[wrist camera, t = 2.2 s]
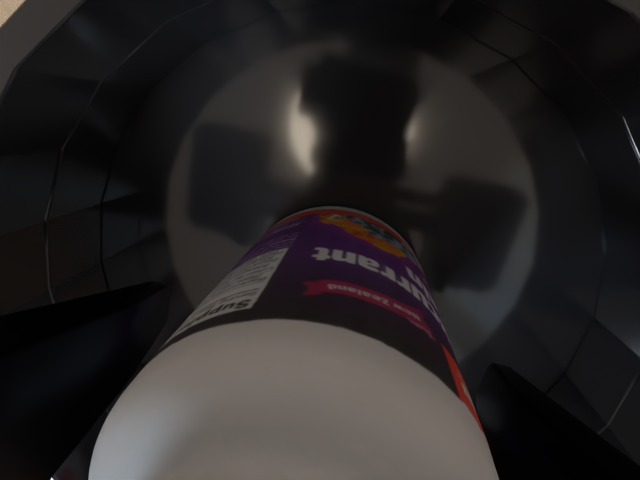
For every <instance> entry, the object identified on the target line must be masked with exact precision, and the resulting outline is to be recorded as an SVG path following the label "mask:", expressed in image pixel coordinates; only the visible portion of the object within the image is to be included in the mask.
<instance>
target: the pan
mask: <svg viewBox="0 0 640 480" xmlns="http://www.w3.org/2000/svg"><path fill="white" fill-rule="evenodd" d="M323 206H337V207H346V208H351V209H356V210H359V211H362V212H365V213H368V214H370V215H372V216H374V217H376V218H378V219H380V220H381V221H383V222H384V223H386V224H387V225H389V226H390V227H391V228H393V229H394V230H395V231H396V232H397V233H399V234H400V236H401V237H402V238H403V239H404V240H405V241H406V242H407V243H408V245H409V246H410V248H411V249H412V250H413V252H414V254H415V256H416V258H417V259H418V261H419V263H420V265H421V267H422V270H423V272H424V274H425V277H426V280H427V282H428V285H429V288H430V290H431V293H432V296H433V298H434V301H435V304H436V306H437V309H438V312H439V314H440V317H441V320H442V323H443V325H444V328H445V331H446V333H447V336H448V338H449V341H450V343H451V346H452V349H453V352H454V355H455V357H456V360H457V363H458V365H459V368H460V371H461V373H462V376H463V379H464V382H465V384H466V387H467V389H468V392H469V394H470V397H471V400H472V402H473V405H474V408H475V411H476V413H477V416H478V410H477V404H476V394H477V390H478V387H479V385H480V383H481V380H482V378H483V376H484V373H485V371H486V369H487V367H488V366H489V365H490V364H492V363H496V364H500V365H504V366H508V367H510V368H512V369H513V370H514V371H516V372H517V373H518V374H520V375H521V376H522V377H524V378H525V379H526V380H528V381H529V382H530V383H532V384H533V385H534V386H535V387H537V388H538V389H539V390H541V391H542V392H543V393H545V394H546V395H547V396H549V397H550V398H551V399H553V400H554V401H555V402H556V403H558V404H559V405H560V406H562V407H563V408H564V409H566V410H567V411H568V412H570V413H571V414H572V415H574V416H575V417H576V418H577V419H579V420H580V421H581V422H583V423H584V424H585V425H587V426H588V427H589V428H591V429H592V430H593V431H595V432H596V433H597V434H598V435H600V436H601V437H602V438H604V439H605V440H606V441H608V442H609V443H610V444H612V445H613V446H614V447H616V448H617V449H618V450H620V451H621V452H622V453H623V454H625V455H626V456H627V457H629V458H630V459H631V460H633V461H634V462H635V463H637V464H638V465H639V466H640V0H25V1H24V2H23V3H22V4H21V5H20V6H19V7H18V8H17V10H16V11H15V12H14V13H13V14H12V15H11V16H10V17H9V18H8V19H7V20H6V21H5V23H4V24H3V25H2V26H1V27H0V316H2V315H6V314H10V313H15V312H19V311H23V310H28V309H32V308H37V307H41V306H45V305H50V304H54V303H59V302H63V301H67V300H72V299H76V298H80V297H85V296H89V295H94V294H98V293H102V292H107V291H111V290H116V289H120V288H124V287H129V286H133V285H137V284H142V283H146V282H151V281H154V282H159V283H163V284H166V285H168V286H169V287H170V302H169V315H168V319H167V322H166V324H165V326H164V328H163V329H162V331H161V332H160V334H159V335H158V337H157V339H156V340H155V342H154V343H153V345H152V347H151V348H150V350H149V351H148V353H147V354H146V356H145V358H144V359H143V361H142V362H141V364H140V365H139V367H138V369H137V370H136V371H135V373H134V374H133V376H132V377H131V379H130V380H129V381H128V383H127V384H126V385H125V386H124V388H123V389H122V390H121V391H120V393H119V394H118V395H117V396H116V398H115V399H114V400H113V401H112V403H111V404H110V405H109V406H108V408H107V409H106V410H105V411H104V413H103V414H102V415H101V416H100V418H99V419H98V420H97V421H96V423H95V424H94V425H93V426H92V428H91V429H90V430H89V431H88V433H87V434H86V435H85V436H84V438H83V439H82V440H81V441H80V443H79V444H78V445H77V447H76V448H75V449H74V450H73V452H72V453H71V454H70V455H69V457H68V458H67V459H66V460H65V462H64V463H63V464H62V465H61V467H60V468H59V469H58V470H57V472H56V473H55V474H54V475H53V477H52V478H51V479H50V480H88V477H89V469H90V464H91V459H92V454H93V450H94V446H95V444H96V441H97V438H98V436H99V433H100V431H101V428H102V426H103V424H104V422H105V420H106V418H107V416H108V415H109V413H110V411H111V410H112V408H113V407H114V405H115V403H116V402H117V400H118V399H119V398H120V396H121V395H122V393H123V392H124V391H125V390H126V388H127V387H128V386H129V385H130V383H131V382H132V381H133V380H134V379H135V377H136V376H137V375H138V374H139V373H140V371H141V370H142V369H143V368H144V367H145V365H146V364H147V363H148V362H149V361H150V360H151V358H152V357H153V356H154V355H155V354H156V353H157V351H158V350H159V349H160V348H161V347H162V346H163V344H164V343H165V342H166V341H167V340H168V339H169V338H170V337H171V336H172V335H173V334H174V333H175V332H176V331H177V330H178V329H179V327H180V326H181V325H182V324H183V323H184V322H185V320H186V319H187V318H188V317H189V316H190V315H191V314H192V313H193V311H194V310H195V309H196V308H197V307H198V306H199V305H200V304H201V303H202V301H203V300H204V299H205V298H206V297H207V296H208V295H209V293H210V292H211V291H212V290H213V289H214V288H215V287H216V286H217V285H218V284H219V283H220V281H221V280H222V279H223V278H224V277H225V276H226V275H227V274H228V273H229V272H230V271H231V269H232V268H233V267H234V266H235V265H236V264H237V263H238V262H239V261H240V260H241V258H242V257H243V256H244V255H245V254H246V253H247V252H248V251H249V250H250V249H251V247H252V246H253V245H254V244H255V243H256V242H257V241H258V240H259V239H260V238H261V237H262V236H263V235H264V234H265V233H266V232H267V231H268V230H269V229H270V228H271V227H273V226H274V225H275V224H277V223H278V222H279V221H281V220H282V219H284V218H286V217H288V216H290V215H292V214H294V213H297V212H300V211H303V210H306V209H310V208H315V207H323ZM478 418H479V416H478Z"/></svg>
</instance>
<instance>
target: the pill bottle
mask: <svg viewBox="0 0 640 480" xmlns="http://www.w3.org/2000/svg"><path fill="white" fill-rule="evenodd" d="M88 480H499V477H498V474H497V471H496V468H495V465H494V462H493V458H492V455H491V452H490V448H489V445H488V442H487V439H486V437H485V434H484V431H483V429H482V426H481V423H480V421H479V418H478V416H477V413H476V411H475V408H474V405H473V402H472V400H471V397H470V394H469V392H468V389H467V387H466V384H465V382H464V379H463V376H462V373H461V371H460V368H459V365H458V363H457V360H456V357H455V355H454V352H453V349H452V346H451V343H450V341H449V338H448V336H447V333H446V331H445V328H444V325H443V323H442V320H441V317H440V314H439V312H438V309H437V306H436V304H435V301H434V298H433V296H432V293H431V290H430V288H429V285H428V282H427V280H426V277H425V274H424V272H423V270H422V267H421V265H420V263H419V261H418V259H417V258H416V256H415V254H414V252H413V250H412V249H411V248H410V246H409V245H408V243H407V242H406V241H405V240H404V239H403V238H402V237H401V236H400V234H399V233H397V232H396V231H395V230H394V229H393V228H391V227H390V226H389V225H387V224H386V223H384V222H383V221H381V220H380V219H378V218H376V217H374V216H372V215H370V214H368V213H365V212H362V211H359V210H356V209H351V208H346V207H337V206H323V207H315V208H310V209H306V210H303V211H300V212H297V213H294V214H292V215H290V216H288V217H286V218H284V219H282V220H281V221H279V222H278V223H277V224H275V225H274V226H273V227H271V228H270V229H269V230H268V231H267V232H266V233H265V234H264V235H263V236H262V237H261V238H260V239H259V240H258V241H257V242H256V243H255V244H254V245H253V246H252V247H251V249H250V250H249V251H248V252H247V253H246V254H245V255H244V256H243V257H242V258H241V260H240V261H239V262H238V263H237V264H236V265H235V266H234V267H233V268H232V269H231V271H230V272H229V273H228V274H227V275H226V276H225V277H224V278H223V279H222V280H221V281H220V283H219V284H218V285H217V286H216V287H215V288H214V289H213V290H212V291H211V292H210V293H209V295H208V296H207V297H206V298H205V299H204V300H203V301H202V303H201V304H200V305H199V306H198V307H197V308H196V309H195V310H194V311H193V313H192V314H191V315H190V316H189V317H188V318H187V319H186V320H185V322H184V323H183V324H182V325H181V326H180V327H179V329H178V330H177V331H176V332H175V333H174V334H173V335H172V336H171V337H170V338H169V339H168V340H167V341H166V342H165V343H164V344H163V346H162V347H161V348H160V349H159V350H158V351H157V353H156V354H155V355H154V356H153V357H152V358H151V360H150V361H149V362H148V363H147V364H146V365H145V367H144V368H143V369H142V370H141V371H140V373H139V374H138V375H137V376H136V377H135V379H134V380H133V381H132V382H131V383H130V385H129V386H128V387H127V388H126V390H125V391H124V392H123V393H122V395H121V396H120V398H119V399H118V400H117V402H116V403H115V405H114V407H113V408H112V410H111V411H110V413H109V415H108V416H107V418H106V420H105V422H104V424H103V426H102V428H101V431H100V433H99V436H98V438H97V441H96V444H95V446H94V450H93V454H92V459H91V464H90V469H89V477H88Z"/></svg>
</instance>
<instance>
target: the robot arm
mask: <svg viewBox="0 0 640 480" xmlns="http://www.w3.org/2000/svg"><path fill="white" fill-rule="evenodd" d="M169 302H170V287H169V286H168V285H166V284H163V283H159V282H154V281H151V282H146V283H142V284H137V285H133V286H129V287H124V288H120V289H116V290H111V291H107V292H102V293H98V294H94V295H89V296H85V297H80V298H76V299H72V300H67V301H63V302H59V303H54V304H50V305H45V306H41V307H37V308H32V309H28V310H23V311H19V312H15V313H10V314H6V315H2V316H0V480H50V479H51V478H52V477H53V475H54V474H55V473H56V472H57V470H58V469H59V468H60V467H61V465H62V464H63V463H64V462H65V460H66V459H67V458H68V457H69V455H70V454H71V453H72V452H73V450H74V449H75V448H76V447H77V445H78V444H79V443H80V441H81V440H82V439H83V438H84V436H85V435H86V434H87V433H88V431H89V430H90V429H91V428H92V426H93V425H94V424H95V423H96V421H97V420H98V419H99V418H100V416H101V415H102V414H103V413H104V411H105V410H106V409H107V408H108V406H109V405H110V404H111V403H112V401H113V400H114V399H115V398H116V396H117V395H118V394H119V393H120V391H121V390H122V389H123V388H124V386H125V385H126V384H127V383H128V381H129V380H130V379H131V377H132V376H133V374H134V373H135V371H136V370H137V369H138V367H139V365H140V364H141V362H142V361H143V359H144V358H145V356H146V354H147V353H148V351H149V350H150V348H151V347H152V345H153V343H154V342H155V340H156V339H157V337H158V335H159V334H160V332H161V331H162V329H163V328H164V326H165V324H166V322H167V319H168V315H169ZM476 404H477V410H478V416H479V421H480V423H481V426H482V429H483V431H484V434H485V437H486V439H487V442H488V445H489V448H490V452H491V455H492V458H493V462H494V465H495V468H496V471H497V474H498V477H499V480H640V466H639V465H638V464H637V463H635V462H634V461H633V460H631V459H630V458H629V457H627V456H626V455H625V454H623V453H622V452H621V451H620V450H618V449H617V448H616V447H614V446H613V445H612V444H610V443H609V442H608V441H606V440H605V439H604V438H602V437H601V436H600V435H598V434H597V433H596V432H595V431H593V430H592V429H591V428H589V427H588V426H587V425H585V424H584V423H583V422H581V421H580V420H579V419H577V418H576V417H575V416H574V415H572V414H571V413H570V412H568V411H567V410H566V409H564V408H563V407H562V406H560V405H559V404H558V403H556V402H555V401H554V400H553V399H551V398H550V397H549V396H547V395H546V394H545V393H543V392H542V391H541V390H539V389H538V388H537V387H535V386H534V385H533V384H532V383H530V382H529V381H528V380H526V379H525V378H524V377H522V376H521V375H520V374H518V373H517V372H516V371H514V370H513V369H512V368H510V367H508V366H504V365H500V364H496V363H492V364H490V365H489V366H488V367H487V369H486V371H485V373H484V376H483V378H482V380H481V383H480V385H479V387H478V390H477V394H476Z"/></svg>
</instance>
